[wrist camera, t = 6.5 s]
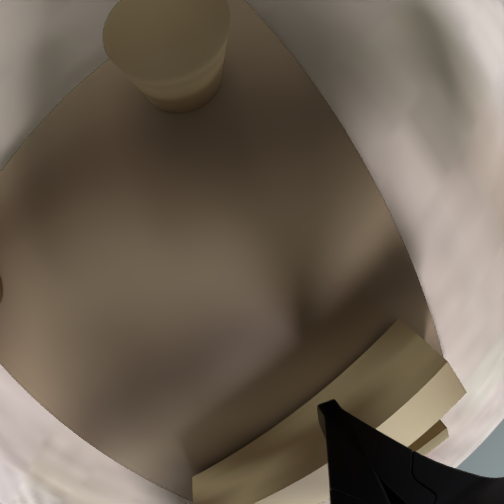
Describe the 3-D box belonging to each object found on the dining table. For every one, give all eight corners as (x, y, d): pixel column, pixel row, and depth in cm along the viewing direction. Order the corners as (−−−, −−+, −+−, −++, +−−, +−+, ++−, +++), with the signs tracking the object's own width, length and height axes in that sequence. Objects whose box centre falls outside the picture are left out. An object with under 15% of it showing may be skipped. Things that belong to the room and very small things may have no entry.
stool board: (438, 371, 13) (485, 420, 9) (216, 497, 14) (222, 554, 10) (228, 3, 7) (244, -85, 3) (-44, 272, 8) (-106, 313, 4)
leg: (237, 491, 12) (244, 540, 9) (192, 477, 11) (193, 531, 8) (426, 352, 11) (471, 396, 7) (399, 318, 10) (453, 366, 7)
